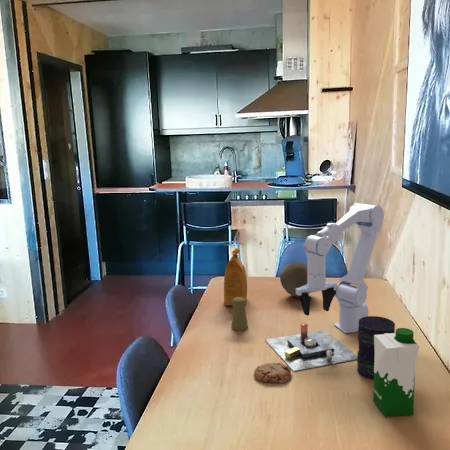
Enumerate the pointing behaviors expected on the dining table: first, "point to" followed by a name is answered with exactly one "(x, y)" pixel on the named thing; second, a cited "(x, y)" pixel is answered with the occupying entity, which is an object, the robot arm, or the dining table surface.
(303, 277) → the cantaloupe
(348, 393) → the dining table surface
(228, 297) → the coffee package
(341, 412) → the dining table surface
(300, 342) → the metal parts fixture
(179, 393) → the dining table surface
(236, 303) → the olive green shaker
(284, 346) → the post base
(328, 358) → the dowel pin
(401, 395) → the milk carton
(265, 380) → the cookie
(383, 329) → the storage jar
